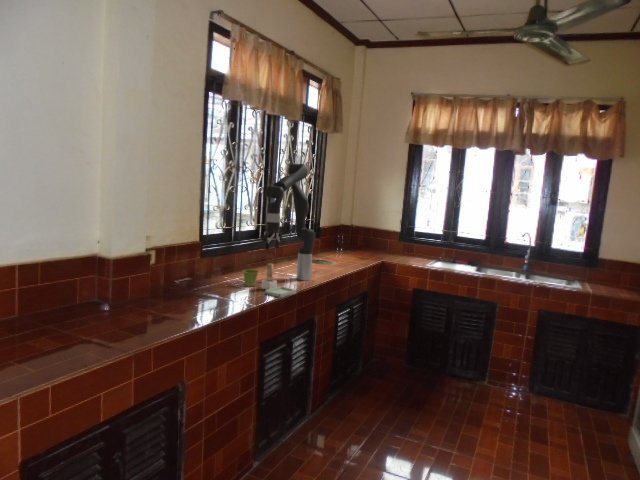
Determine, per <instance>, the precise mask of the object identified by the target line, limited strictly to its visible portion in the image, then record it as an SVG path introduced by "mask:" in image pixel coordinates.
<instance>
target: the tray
mask: <svg viewBox="0 0 640 480" xmlns="http://www.w3.org/2000/svg"><path fill="white" fill-rule="evenodd" d="M297 293H298V290H297V289H295V288H289V287H286V286H282V285H281V286H278V287H277V288H273V289H269V290H264V295H267V296H271V297H272V296H273V297H275V298H279V299H281V298H284V297H288V296H293V295H295V294H297Z"/></svg>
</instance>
